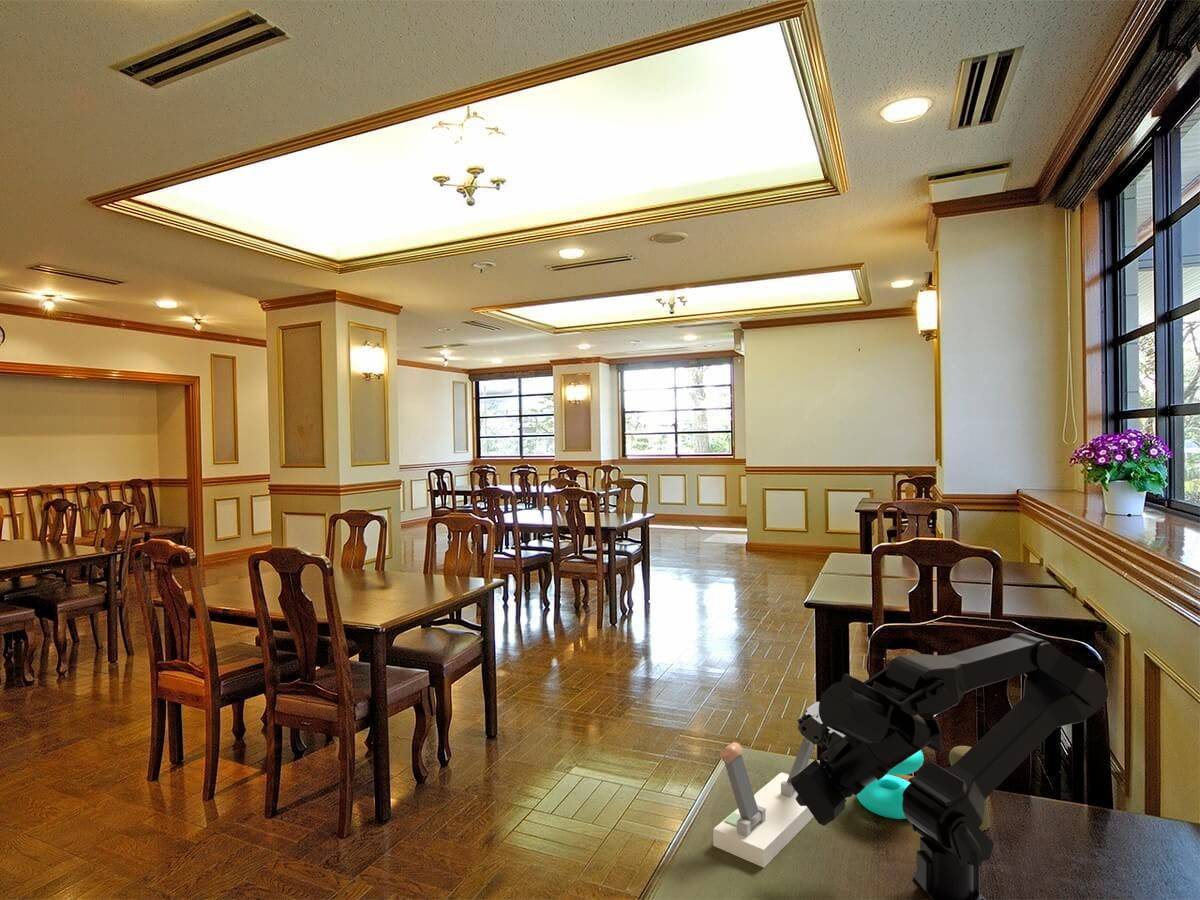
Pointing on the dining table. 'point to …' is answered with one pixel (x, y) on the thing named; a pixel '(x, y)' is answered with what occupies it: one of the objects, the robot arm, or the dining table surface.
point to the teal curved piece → (890, 789)
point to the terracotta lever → (740, 783)
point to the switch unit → (764, 824)
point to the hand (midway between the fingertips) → (798, 801)
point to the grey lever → (801, 758)
